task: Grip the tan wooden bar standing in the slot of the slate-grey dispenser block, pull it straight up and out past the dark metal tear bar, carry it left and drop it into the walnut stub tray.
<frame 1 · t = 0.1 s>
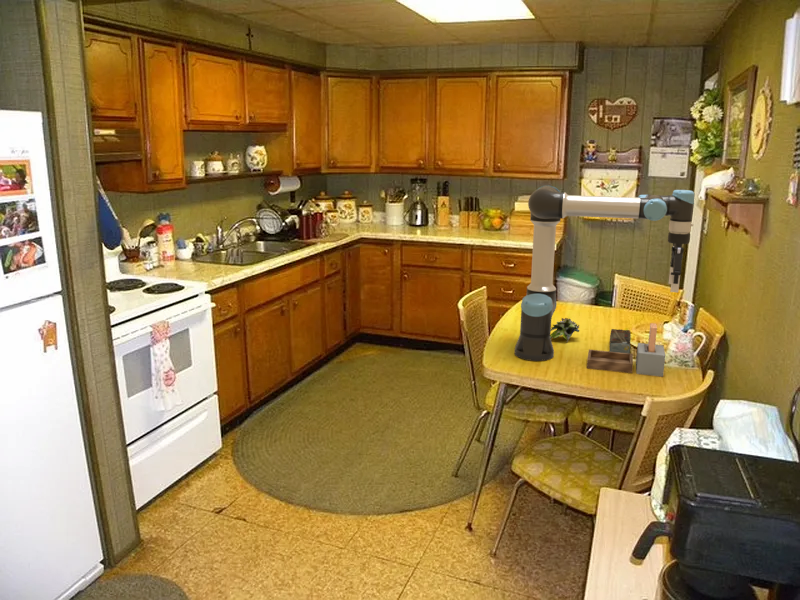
hand: (673, 288, 245), 28 cm above the table, fingers open, 13 cm apart
dispenser: (649, 369, 239), on the table
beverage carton: (619, 351, 261), on the table
tray: (609, 365, 243), on the table
green leafy plant: (564, 340, 273), on the table
tan wooden bar: (649, 364, 239), point 2 cm above the table, touching dispenser
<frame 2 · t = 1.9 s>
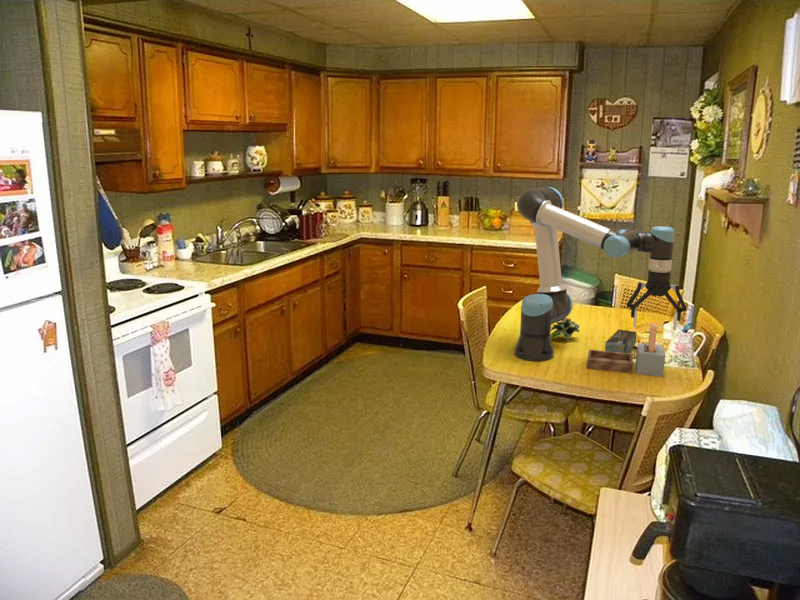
hand: (654, 327, 235), 16 cm above the table, fingers open, 13 cm apart
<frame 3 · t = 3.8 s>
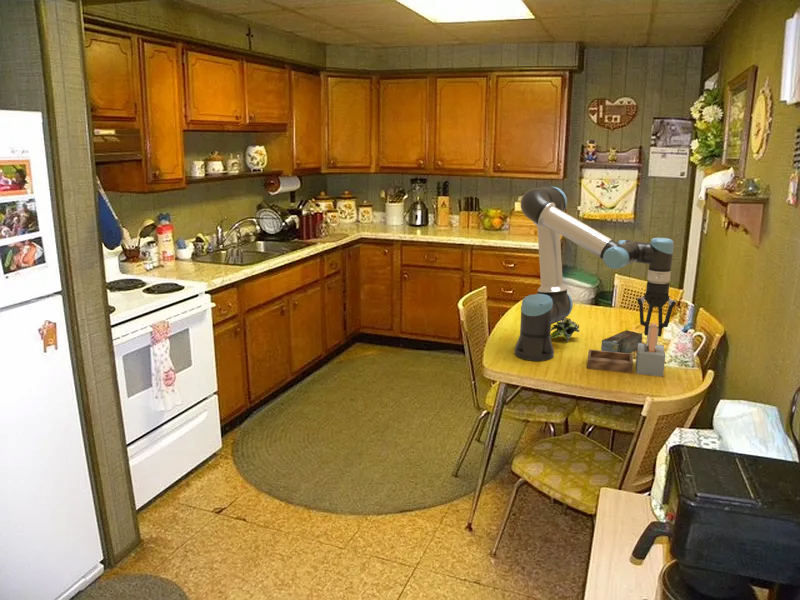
hand: (651, 344, 237), 10 cm above the table, fingers closed on tan wooden bar, 2 cm apart
tan wooden bar: (649, 364, 239), point 2 cm above the table, touching gripper
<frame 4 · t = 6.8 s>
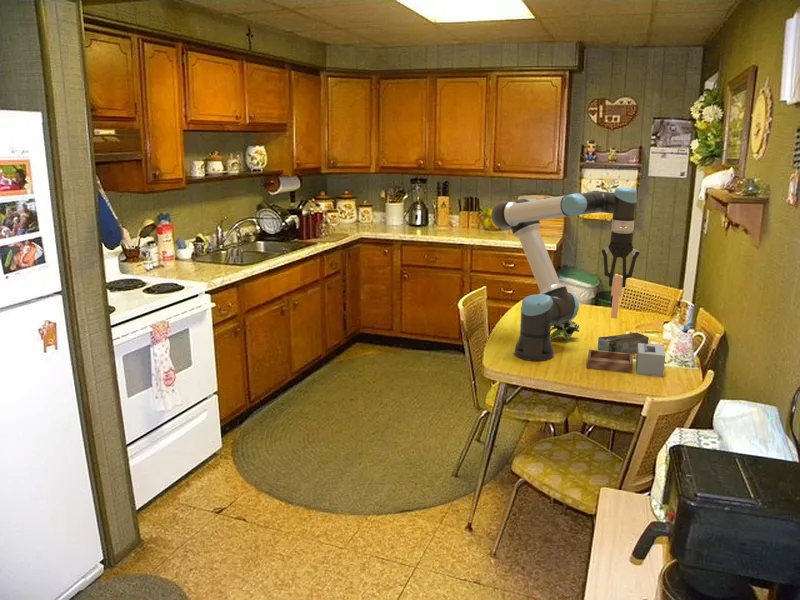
hand: (616, 295, 237), 27 cm above the table, fingers closed on tan wooden bar, 2 cm apart
tan wooden bar: (614, 316, 239), point 19 cm above the table, touching gripper
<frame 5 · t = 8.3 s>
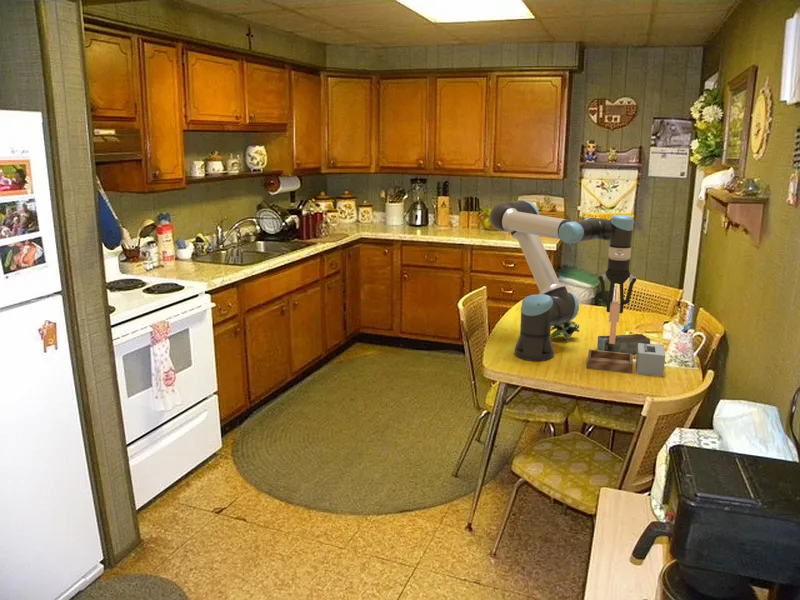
hand: (613, 320, 239), 18 cm above the table, fingers closed on tan wooden bar, 2 cm apart
tan wooden bar: (612, 341, 241), point 10 cm above the table, touching gripper
when the fingers open (11 cm above the table, at t = 9.8 s): tan wooden bar drops 3 cm, resting on tray.
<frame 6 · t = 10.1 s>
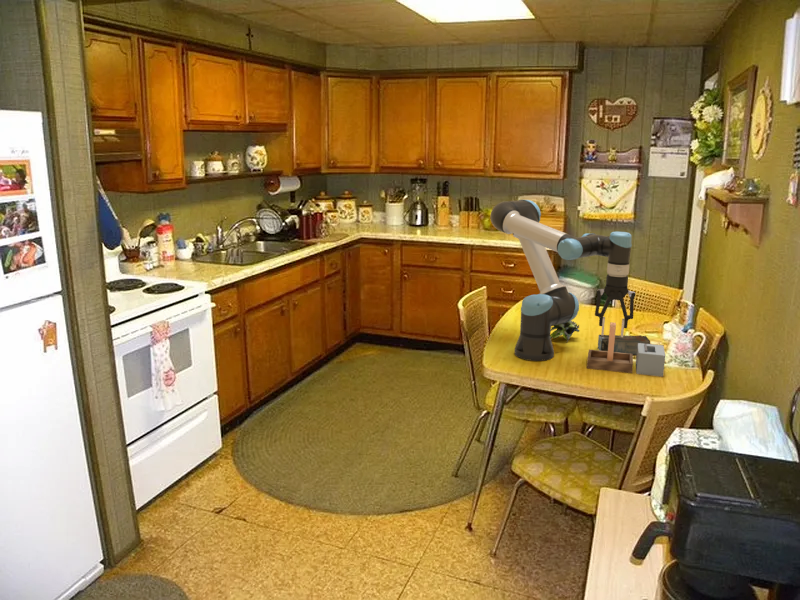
hand: (612, 335, 240), 12 cm above the table, fingers open, 6 cm apart
tan wooden bar: (609, 362, 243), point 1 cm above the table, touching tray
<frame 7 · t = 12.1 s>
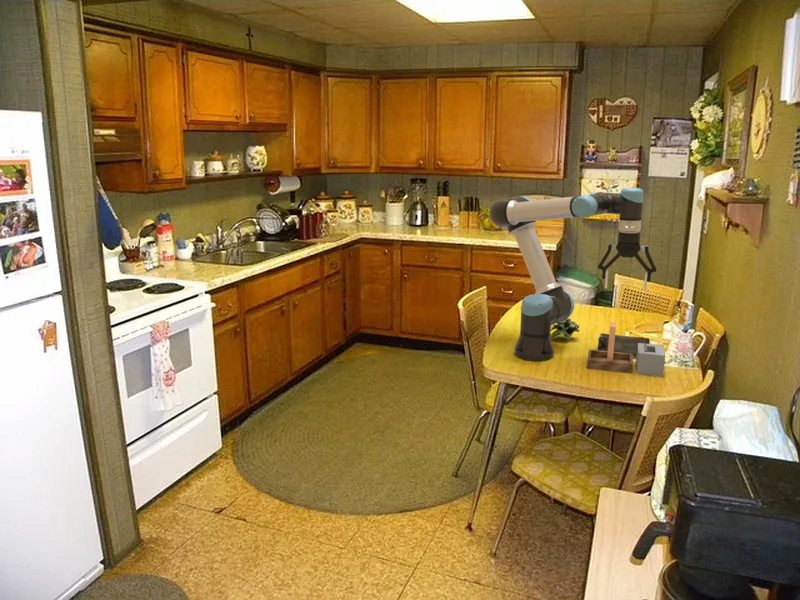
hand: (625, 289, 238), 29 cm above the table, fingers open, 13 cm apart
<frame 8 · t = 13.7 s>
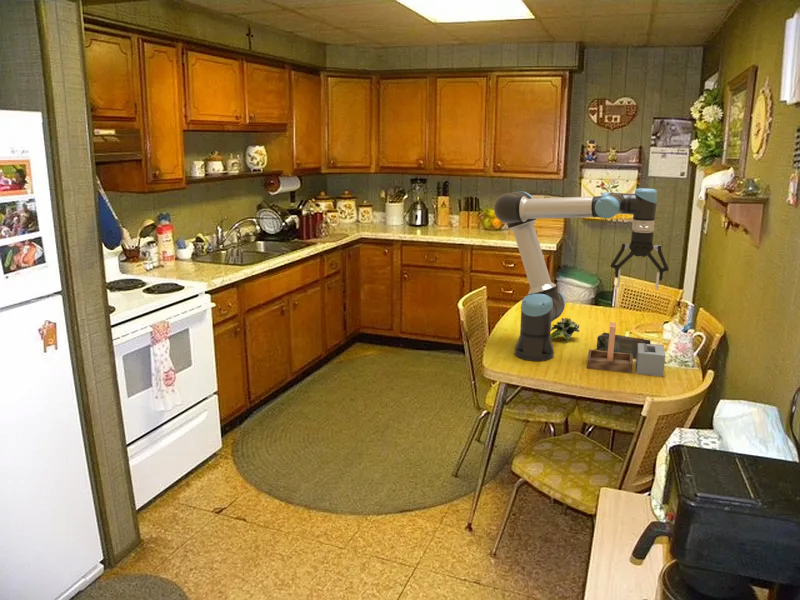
hand: (637, 287, 242), 29 cm above the table, fingers open, 13 cm apart
at the end: tan wooden bar inside the target area on the tray (0.0 cm from its centre), point 1.0 cm above the tray's base; the gripper is holding nothing; tan wooden bar touching tray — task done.
